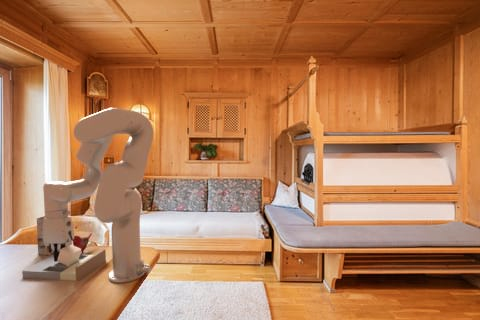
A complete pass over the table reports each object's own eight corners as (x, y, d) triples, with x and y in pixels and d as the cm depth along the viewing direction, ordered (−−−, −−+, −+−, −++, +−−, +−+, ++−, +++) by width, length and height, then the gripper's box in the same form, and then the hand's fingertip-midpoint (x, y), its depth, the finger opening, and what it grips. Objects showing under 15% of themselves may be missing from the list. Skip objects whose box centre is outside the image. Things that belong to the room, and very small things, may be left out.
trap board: (105, 261, 113) (105, 249, 113) (78, 280, 97) (77, 266, 97) (57, 259, 116) (56, 247, 115) (22, 277, 100) (21, 264, 99)
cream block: (78, 260, 108) (81, 249, 107) (68, 266, 103) (71, 254, 103) (67, 255, 109) (70, 244, 108) (57, 261, 104) (60, 249, 103)
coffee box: (49, 255, 119) (47, 218, 118) (37, 254, 121) (35, 218, 120) (67, 247, 128) (65, 213, 127) (55, 246, 130) (53, 212, 129)
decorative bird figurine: (70, 261, 113) (68, 238, 112) (89, 245, 130) (88, 225, 130) (77, 261, 113) (76, 237, 112) (95, 245, 131) (94, 224, 130)
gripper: (81, 211, 108) (83, 256, 109) (47, 210, 110) (49, 255, 111) (67, 216, 101) (69, 265, 102) (30, 215, 102) (33, 263, 104)
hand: (59, 260), depth 106 cm, fingers closed
